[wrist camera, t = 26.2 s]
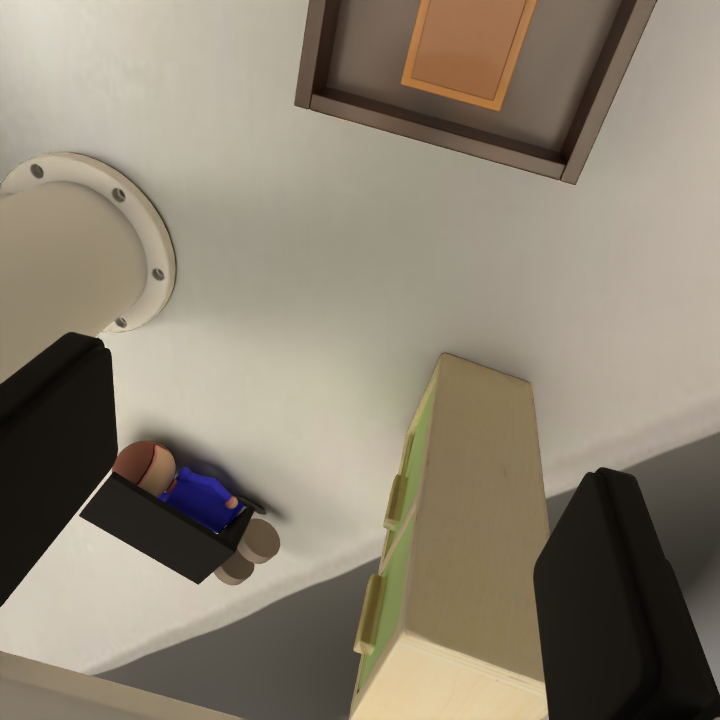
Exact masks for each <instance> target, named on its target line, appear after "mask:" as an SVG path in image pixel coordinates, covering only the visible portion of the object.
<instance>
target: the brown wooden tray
mask: <svg viewBox="0 0 720 720" xmlns="http://www.w3.org/2000/svg"><path fill="white" fill-rule="evenodd" d="M656 2H657V0H538V1H537V4H536V7H535V10H534V13H533V16H532V19H531V22H530V25H529V28H528V31H527V34H526V37H525V40H524V43H523V46H522V48H521V51H520V54H519V57H518V60H517V63H516V66H515V69H514V72H513V75H512V78H511V81H510V84H509V87H508V90H507V93H506V95H505V98H504V101H503V104H502V107H501V110H500V111H499V112H497V111H494V110H490V109H487V108H483V107H480V106H476V105H472V104H469V103H465V102H462V101H458V100H455V99H451V98H447V97H444V96H440V95H437V94H433V93H429V92H426V91H422V90H419V89H415V88H412V87H408V86H404V85H402V84H401V79H402V75H403V71H404V67H405V63H406V59H407V54H408V50H409V46H410V42H411V38H412V34H413V30H414V25H415V21H416V17H417V13H418V9H419V5H420V0H309V7H308V14H307V21H306V27H305V34H304V41H303V48H302V55H301V62H300V68H299V75H298V82H297V89H296V96H295V103H294V105H295V106H298V107H301V108H305V109H310V110H312V111H316V112H319V113H323V114H326V115H330V116H334V117H337V118H341V119H344V120H348V121H351V122H355V123H358V124H362V125H365V126H369V127H372V128H376V129H380V130H383V131H387V132H390V133H394V134H397V135H401V136H404V137H408V138H411V139H415V140H418V141H422V142H425V143H429V144H433V145H436V146H440V147H443V148H447V149H450V150H454V151H457V152H461V153H464V154H468V155H471V156H475V157H478V158H482V159H486V160H489V161H493V162H496V163H500V164H503V165H507V166H510V167H514V168H517V169H521V170H524V171H528V172H531V173H535V174H539V175H542V176H546V177H549V178H553V179H556V180H560V181H563V182H566V183H570V184H573V185H576V183H577V181H578V178H579V176H580V174H581V171H582V169H583V167H584V165H585V162H586V160H587V158H588V156H589V153H590V151H591V149H592V147H593V144H594V142H595V140H596V138H597V135H598V133H599V131H600V128H601V126H602V124H603V122H604V119H605V117H606V115H607V113H608V110H609V108H610V106H611V104H612V101H613V99H614V97H615V95H616V92H617V90H618V88H619V85H620V83H621V81H622V79H623V76H624V74H625V72H626V70H627V67H628V65H629V63H630V61H631V58H632V56H633V54H634V52H635V49H636V47H637V45H638V42H639V40H640V38H641V36H642V33H643V31H644V29H645V27H646V24H647V22H648V20H649V18H650V15H651V13H652V11H653V9H654V6H655V4H656Z"/></svg>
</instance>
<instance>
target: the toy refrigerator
mask: <svg viewBox="0 0 720 720" xmlns="http://www.w3.org/2000/svg"><path fill="white" fill-rule="evenodd" d="M546 509H547V508H546V500H545V491H544V482H543V474H542V464H541V456H540V447H539V439H538V430H537V422H536V414H535V405H534V397H533V389H532V386H531V384H530V383H528V382H526V381H523V380H521V379H518V378H515V377H512V376H509V375H506V374H504V373H501V372H498V371H495V370H493V369H490V368H487V367H484V366H481V365H478V364H476V363H472V362H469V361H467V360H464V359H461V358H458V357H455V356H452V355H449V354H446V353H443V354H442V355H441V356H440V358H439V361H438V363H437V365H436V368H435V370H434V372H433V374H432V377H431V379H430V381H429V383H428V386H427V388H426V390H425V392H424V395H423V397H422V399H421V402H420V404H419V406H418V409H417V411H416V413H415V415H414V418H413V420H412V422H411V424H410V427H409V429H408V431H407V434H406V438H405V443H404V448H403V454H402V459H401V464H400V469H399V474H397V475H396V476H395V479H394V481H393V485H392V489H391V493H390V498H389V502H388V507H387V511H386V515H385V520H384V524H383V527H384V528H386V529H387V533H386V538H385V543H384V547H383V552H382V557H381V562H380V567H379V571H378V575H377V574H373V575H372V576H371V578H370V580H369V582H368V585H367V590H366V595H365V600H364V605H363V609H362V615H361V618H360V623H359V627H358V632H357V636H356V640H355V645H354V651H355V652H358V653H361V654H362V656H361V661H360V665H359V671H358V677H357V681H356V685H355V690H354V695H353V700H352V705H351V710H350V717H349V720H542V719H543V718H544V717H545V716H546V715H547V714H548V706H547V697H546V688H545V680H544V671H543V662H542V653H541V645H540V636H539V627H538V618H537V610H536V601H535V592H534V583H533V572H534V566H535V563H536V561H537V559H538V557H539V555H540V553H541V552H542V550H543V548H544V546H545V545H546V543H547V541H548V539H549V538H550V533H549V525H548V517H547V510H546Z"/></svg>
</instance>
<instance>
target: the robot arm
mask: <svg viewBox="0 0 720 720" xmlns="http://www.w3.org/2000/svg"><path fill="white" fill-rule="evenodd" d="M175 270H176V268H175V258H174V251H173V248H172V244H171V241H170V237H169V234H168V232H167V230H166V228H165V226H164V224H163V222H162V219H161V217H160V216H159V214H158V213H157V211H156V210H155V209H154V207H153V206H152V204H151V203H150V201H149V200H148V199H147V198H146V197H145V196H144V194H143V193H142V192H141V191H140V190H139V189H138V188H137V187H136V186H135V185H134V184H133V183H132V182H130V181H129V180H128V179H127V178H126V177H124V176H123V175H122V174H121V173H119V172H118V171H116V170H114V169H113V168H111V167H109V166H108V165H106V164H104V163H103V162H100V161H97V160H95V159H92V158H90V157H87V156H84V155H79V154H74V153H68V152H60V153H48V154H44V155H41V156H37V157H34V158H31V159H29V160H27V161H24V162H22V163H20V164H19V165H18V166H17V167H15V168H14V169H13V170H12V171H11V172H10V173H9V174H8V176H7V177H6V179H5V180H4V182H3V183H2V185H1V188H0V607H1V606H2V605H3V604H4V603H5V601H6V600H7V599H8V598H9V596H10V595H11V594H12V593H13V591H14V590H15V589H16V587H17V586H18V585H19V584H20V582H21V581H22V580H23V579H24V577H25V576H26V575H27V574H28V572H29V571H30V570H31V569H32V567H33V566H34V565H35V564H36V562H37V561H38V560H39V559H40V557H41V556H42V555H43V554H44V552H45V551H46V550H47V549H48V547H49V546H50V545H51V544H52V542H53V541H54V540H55V539H56V537H57V536H58V535H59V534H60V532H61V531H62V530H63V529H64V527H65V526H66V525H67V524H68V522H69V521H70V520H71V519H72V517H73V516H74V515H75V514H76V512H77V511H78V510H79V509H80V507H81V506H82V505H83V504H84V502H85V501H86V500H87V499H88V497H89V496H90V495H91V493H92V492H93V491H94V490H95V488H96V487H97V486H98V485H99V483H100V482H101V481H102V480H103V478H104V477H105V476H106V475H107V473H108V472H109V471H110V470H111V468H112V467H113V465H114V463H115V461H116V458H117V454H118V444H117V429H116V414H115V399H114V385H113V370H112V356H111V352H110V350H109V349H108V348H105V347H104V343H103V341H102V340H101V339H99V338H95V336H96V335H97V334H99V333H100V332H111V333H119V332H125V331H131V330H133V329H136V328H138V327H141V326H143V325H144V324H146V323H147V322H149V321H150V320H151V319H153V318H154V317H155V316H156V315H157V314H158V313H159V312H160V311H161V310H162V309H163V308H164V306H165V304H166V303H167V301H168V300H169V298H170V295H171V292H172V289H173V286H174V281H175ZM533 583H534V592H535V601H536V610H537V618H538V627H539V636H540V645H541V653H542V662H543V671H544V680H545V688H546V697H547V706H548V715H549V720H720V695H719V692H718V690H717V686H716V684H715V681H714V678H713V676H712V673H711V670H710V668H709V665H708V662H707V660H706V657H705V654H704V651H703V649H702V646H701V643H700V641H699V638H698V635H697V632H696V630H695V627H694V624H693V622H692V619H691V616H690V614H689V611H688V608H687V606H686V603H685V601H684V598H683V595H682V592H681V590H680V587H679V584H678V581H677V579H676V576H675V573H674V571H673V569H672V566H671V565H670V563H669V561H668V560H667V559H666V558H665V556H664V553H663V551H662V548H661V545H660V542H659V540H658V537H657V534H656V531H655V529H654V526H653V523H652V520H651V518H650V515H649V512H648V509H647V507H646V504H645V501H644V498H643V496H642V493H641V490H640V488H639V485H638V482H637V480H636V478H635V477H634V476H633V475H631V474H627V473H623V472H620V471H616V470H612V469H608V468H604V467H601V468H599V469H598V470H597V471H596V472H595V473H592V472H588V473H586V475H585V476H584V477H583V479H582V481H581V483H580V485H579V486H578V488H577V490H576V492H575V493H574V495H573V497H572V499H571V500H570V502H569V504H568V506H567V507H566V509H565V511H564V513H563V515H562V516H561V518H560V520H559V522H558V523H557V525H556V527H555V529H554V530H553V532H552V534H551V536H550V538H549V539H548V541H547V543H546V545H545V546H544V548H543V550H542V552H541V553H540V555H539V557H538V559H537V561H536V563H535V566H534V572H533ZM0 720H246V719H243V718H239V717H236V716H232V715H229V714H225V713H221V712H218V711H215V710H211V709H208V708H204V707H200V706H197V705H193V704H190V703H186V702H182V701H179V700H175V699H172V698H168V697H165V696H161V695H158V694H154V693H150V692H147V691H143V690H140V689H136V688H132V687H129V686H125V685H122V684H118V683H114V682H111V681H107V680H104V679H100V678H96V677H93V676H89V675H85V674H82V673H78V672H75V671H71V670H67V669H64V668H60V667H56V666H53V665H49V664H46V663H42V662H38V661H35V660H31V659H27V658H24V657H20V656H17V655H13V654H9V653H6V652H2V651H0Z"/></svg>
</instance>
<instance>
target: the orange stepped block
mask: <svg viewBox="0 0 720 720" xmlns="http://www.w3.org/2000/svg"><path fill="white" fill-rule="evenodd" d="M537 1H538V0H420V5H419V9H418V13H417V17H416V21H415V25H414V30H413V34H412V38H411V42H410V46H409V50H408V54H407V59H406V63H405V67H404V71H403V75H402V79H401V84H402V85H404V86H408V87H412V88H415V89H419V90H422V91H426V92H429V93H433V94H437V95H440V96H444V97H447V98H451V99H455V100H458V101H462V102H465V103H469V104H472V105H476V106H480V107H483V108H487V109H490V110H494V111H497V112H499V111H500V110H501V107H502V104H503V101H504V98H505V95H506V93H507V90H508V87H509V84H510V81H511V78H512V75H513V72H514V69H515V66H516V63H517V60H518V57H519V54H520V51H521V48H522V46H523V43H524V40H525V37H526V34H527V31H528V28H529V25H530V22H531V19H532V16H533V13H534V10H535V7H536V4H537Z"/></svg>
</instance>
